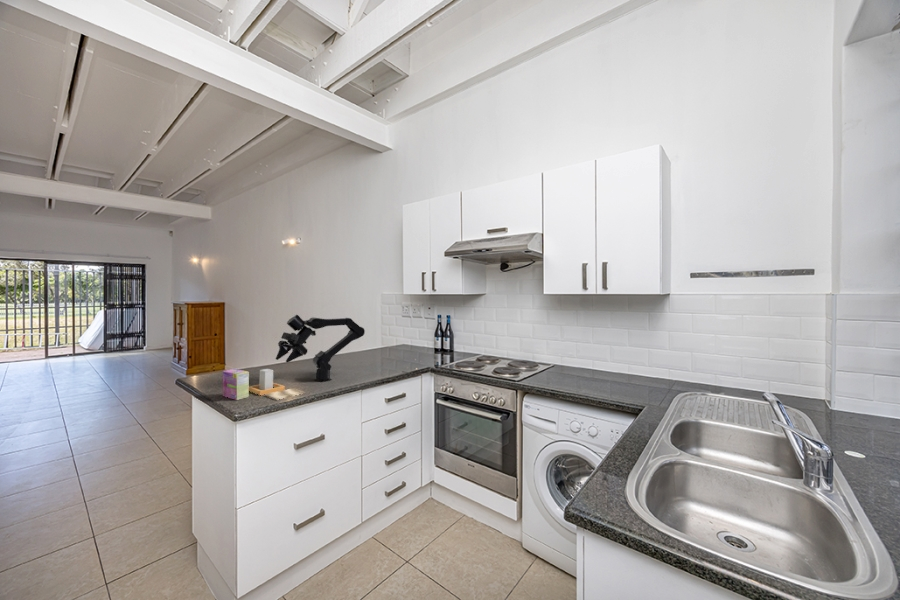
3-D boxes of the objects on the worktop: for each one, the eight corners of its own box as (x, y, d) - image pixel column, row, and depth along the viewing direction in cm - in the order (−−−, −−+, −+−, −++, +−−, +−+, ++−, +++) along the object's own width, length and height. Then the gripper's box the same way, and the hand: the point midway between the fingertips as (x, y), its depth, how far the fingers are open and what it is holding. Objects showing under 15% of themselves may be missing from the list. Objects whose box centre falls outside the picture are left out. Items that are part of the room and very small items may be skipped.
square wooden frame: (271, 385, 185) (271, 381, 185) (284, 390, 178) (284, 386, 178) (247, 390, 175) (247, 386, 175) (260, 395, 168) (260, 391, 168)
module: (267, 388, 180) (267, 368, 179) (272, 390, 177) (273, 370, 176) (259, 390, 176) (259, 369, 176) (264, 392, 173) (265, 371, 173)
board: (292, 389, 179) (292, 388, 179) (304, 393, 174) (304, 391, 173) (264, 395, 168) (264, 394, 168) (276, 400, 162) (276, 398, 162)
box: (222, 396, 165) (222, 370, 165) (234, 393, 170) (235, 368, 170) (236, 400, 160) (236, 373, 160) (248, 397, 165) (249, 371, 165)
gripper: (281, 325, 191) (260, 348, 183) (302, 328, 181) (281, 353, 172) (295, 338, 198) (275, 361, 189) (316, 342, 187) (295, 367, 179)
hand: (281, 360), depth 182 cm, fingers open, 9 cm apart
